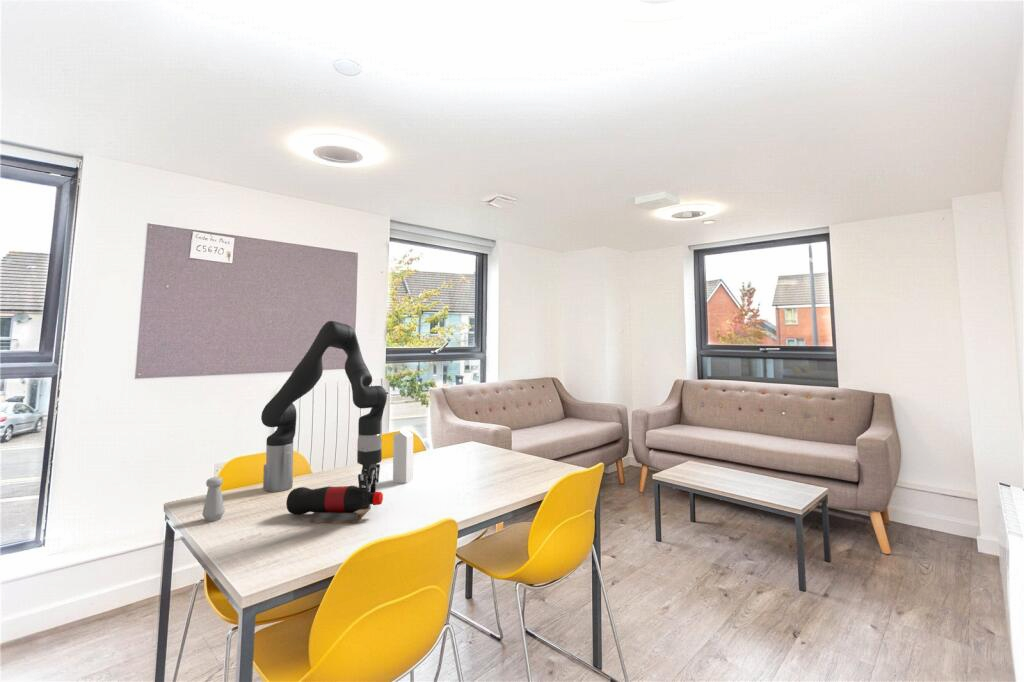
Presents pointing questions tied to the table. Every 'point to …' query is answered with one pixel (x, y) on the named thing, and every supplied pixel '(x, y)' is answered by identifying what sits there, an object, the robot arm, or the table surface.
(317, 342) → the robot arm
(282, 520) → the table surface
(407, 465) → the milk
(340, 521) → the cradle
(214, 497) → the salt shaker
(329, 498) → the cola bottle
